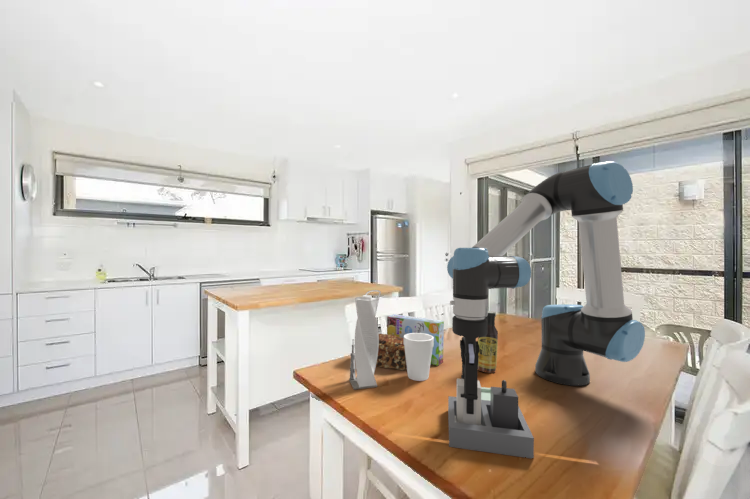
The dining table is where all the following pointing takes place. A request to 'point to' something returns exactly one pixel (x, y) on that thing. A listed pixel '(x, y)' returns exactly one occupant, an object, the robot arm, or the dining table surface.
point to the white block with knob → (460, 402)
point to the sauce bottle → (488, 346)
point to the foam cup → (418, 355)
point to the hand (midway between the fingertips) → (468, 420)
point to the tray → (485, 393)
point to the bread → (391, 352)
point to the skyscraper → (365, 343)
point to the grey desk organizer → (494, 426)
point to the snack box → (419, 331)
